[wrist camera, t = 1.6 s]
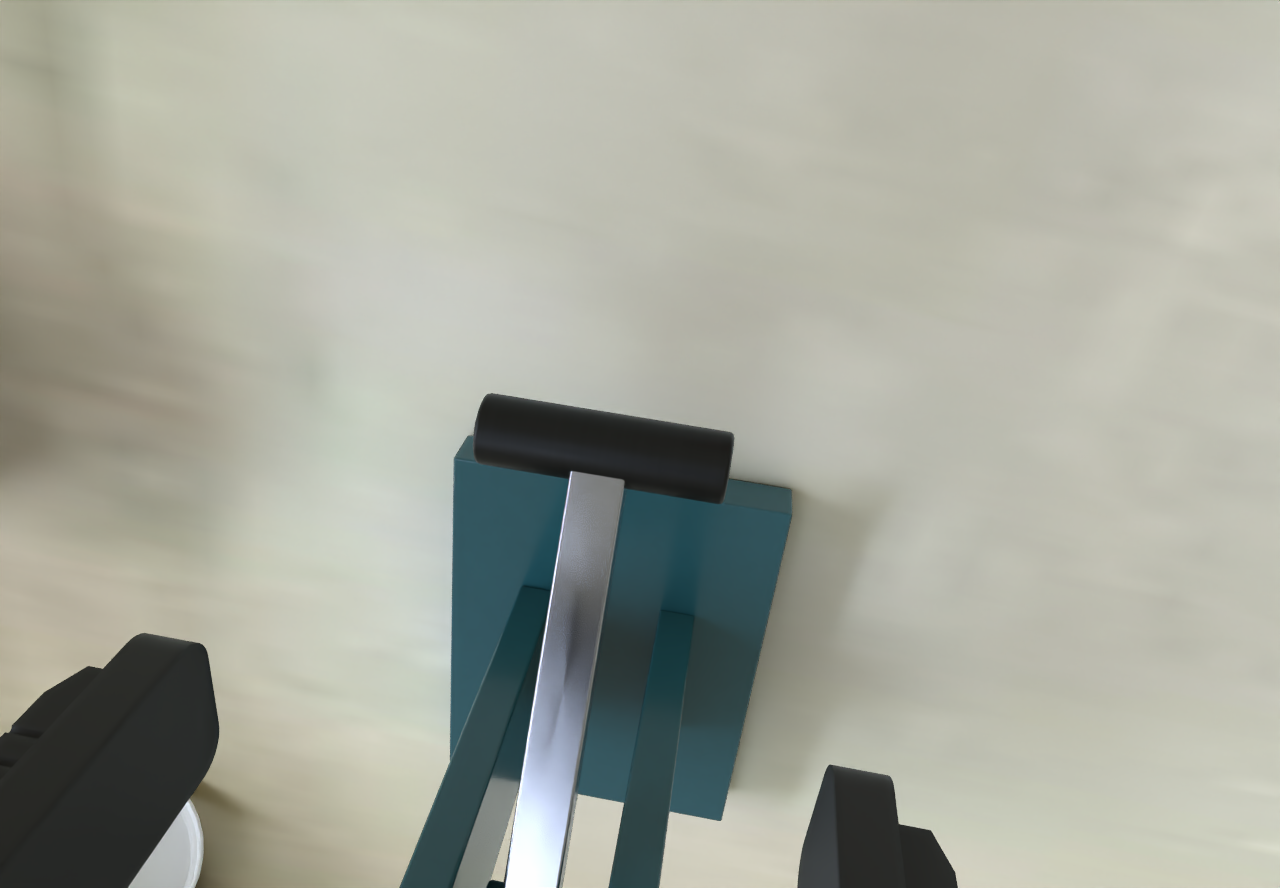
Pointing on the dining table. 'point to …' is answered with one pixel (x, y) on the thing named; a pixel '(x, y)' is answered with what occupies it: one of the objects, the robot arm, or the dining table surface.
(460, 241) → the dining table surface
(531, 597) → the bracket
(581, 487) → the lever
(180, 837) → the spread jar
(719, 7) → the dining table surface
